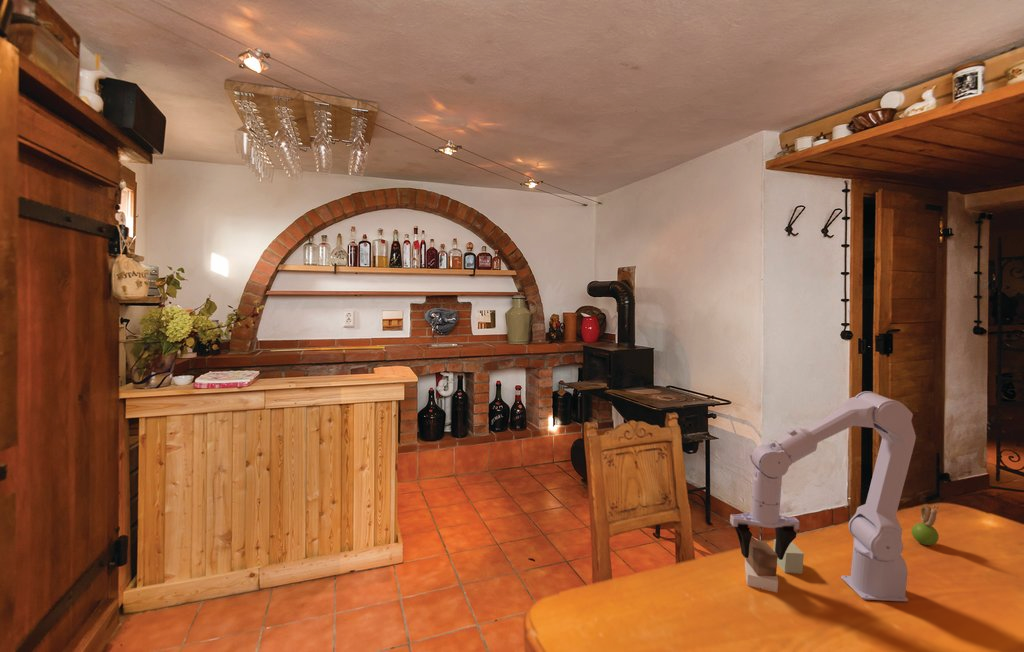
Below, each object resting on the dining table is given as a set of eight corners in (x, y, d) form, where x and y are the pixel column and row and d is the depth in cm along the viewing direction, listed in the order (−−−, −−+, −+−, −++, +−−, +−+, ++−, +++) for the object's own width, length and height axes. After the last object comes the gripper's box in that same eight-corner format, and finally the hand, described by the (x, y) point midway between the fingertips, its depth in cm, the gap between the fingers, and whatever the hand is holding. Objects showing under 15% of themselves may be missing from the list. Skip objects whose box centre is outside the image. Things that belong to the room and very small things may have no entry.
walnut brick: (763, 561, 114) (764, 540, 113) (776, 576, 108) (777, 555, 107) (745, 560, 114) (747, 539, 113) (757, 575, 108) (759, 554, 107)
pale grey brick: (772, 574, 113) (773, 562, 113) (777, 594, 106) (778, 581, 106) (744, 567, 116) (745, 556, 115) (747, 587, 108) (747, 574, 108)
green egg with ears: (918, 549, 125) (923, 504, 124) (906, 536, 131) (911, 494, 130) (944, 553, 123) (949, 508, 122) (930, 540, 129) (935, 497, 128)
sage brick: (788, 559, 119) (790, 540, 119) (802, 573, 113) (803, 553, 113) (772, 558, 120) (773, 539, 119) (784, 573, 114) (786, 552, 113)
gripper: (789, 492, 113) (785, 548, 114) (726, 490, 114) (722, 545, 115) (806, 506, 106) (801, 565, 107) (738, 504, 106) (734, 562, 108)
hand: (761, 556), depth 110 cm, fingers open, 7 cm apart
